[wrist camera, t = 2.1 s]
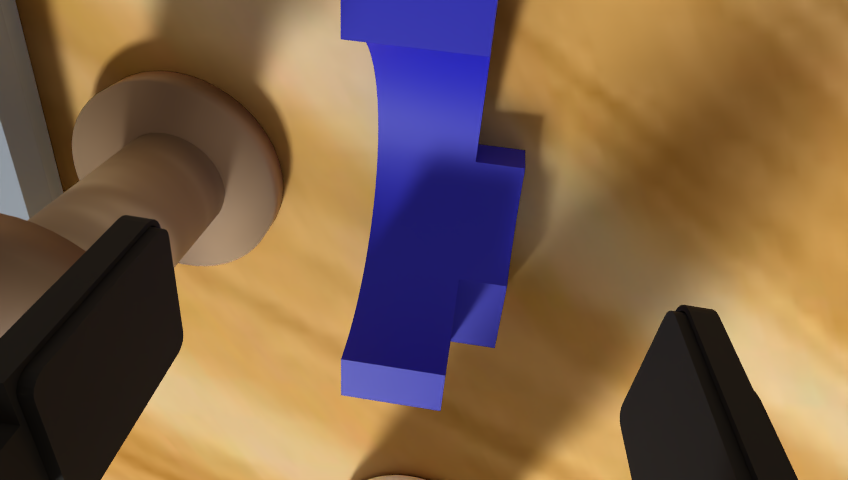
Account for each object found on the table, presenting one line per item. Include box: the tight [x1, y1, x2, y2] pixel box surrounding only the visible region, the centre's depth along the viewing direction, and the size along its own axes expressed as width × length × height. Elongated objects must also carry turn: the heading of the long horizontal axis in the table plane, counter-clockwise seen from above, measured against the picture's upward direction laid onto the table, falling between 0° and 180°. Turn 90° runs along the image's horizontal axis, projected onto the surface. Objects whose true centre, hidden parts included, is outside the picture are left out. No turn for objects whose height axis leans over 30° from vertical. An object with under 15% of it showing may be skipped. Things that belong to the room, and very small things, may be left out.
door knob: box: [0, 71, 283, 338], centre depth 17 cm, size 7×7×9 cm
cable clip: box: [341, 0, 525, 411], centre depth 17 cm, size 12×4×6 cm, turn 176°
